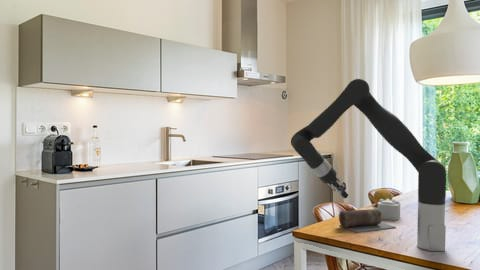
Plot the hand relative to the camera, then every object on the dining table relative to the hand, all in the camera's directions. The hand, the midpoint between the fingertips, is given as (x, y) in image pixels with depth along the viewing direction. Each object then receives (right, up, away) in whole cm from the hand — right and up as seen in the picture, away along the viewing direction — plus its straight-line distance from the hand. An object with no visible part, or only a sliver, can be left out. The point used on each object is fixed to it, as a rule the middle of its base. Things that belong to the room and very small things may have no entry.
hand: (346, 196), depth 169 cm
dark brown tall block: (-2, -10, +1) cm, 11 cm away
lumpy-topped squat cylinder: (+29, -15, +26) cm, 42 cm away
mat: (+11, -15, +5) cm, 19 cm away
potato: (+36, -14, +53) cm, 66 cm away
